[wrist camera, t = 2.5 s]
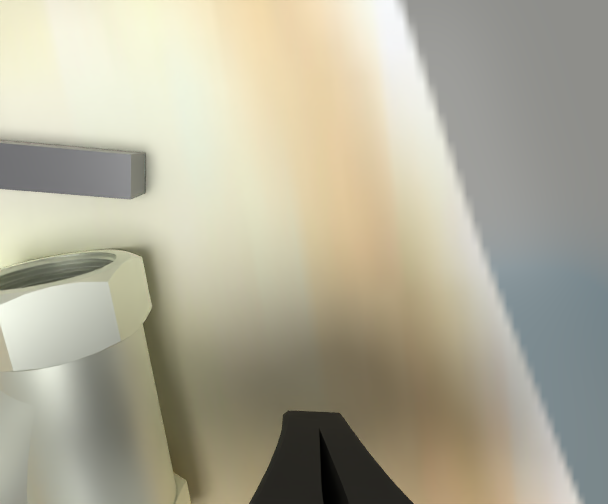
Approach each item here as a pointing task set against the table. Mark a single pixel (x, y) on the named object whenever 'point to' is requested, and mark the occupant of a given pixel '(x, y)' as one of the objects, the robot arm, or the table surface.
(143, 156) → the dark grey bars
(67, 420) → the pipe fitting
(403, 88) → the table surface
